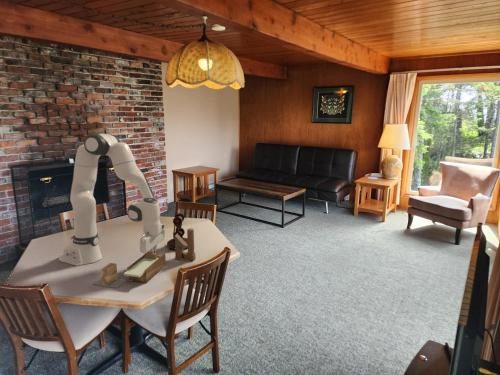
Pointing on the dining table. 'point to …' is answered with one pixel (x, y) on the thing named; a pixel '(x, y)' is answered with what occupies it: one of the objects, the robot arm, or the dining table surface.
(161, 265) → the wooden box
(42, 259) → the dining table surface
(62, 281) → the dining table surface
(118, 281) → the felt mat
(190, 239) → the wooden stand
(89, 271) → the dining table surface
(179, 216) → the dark brown ringed stand
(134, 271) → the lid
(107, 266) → the light wood block
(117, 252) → the dining table surface
